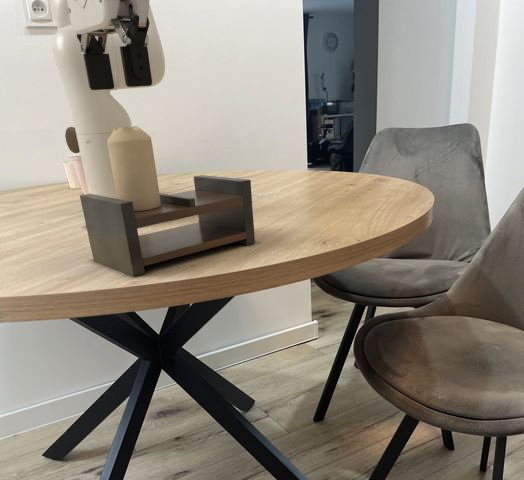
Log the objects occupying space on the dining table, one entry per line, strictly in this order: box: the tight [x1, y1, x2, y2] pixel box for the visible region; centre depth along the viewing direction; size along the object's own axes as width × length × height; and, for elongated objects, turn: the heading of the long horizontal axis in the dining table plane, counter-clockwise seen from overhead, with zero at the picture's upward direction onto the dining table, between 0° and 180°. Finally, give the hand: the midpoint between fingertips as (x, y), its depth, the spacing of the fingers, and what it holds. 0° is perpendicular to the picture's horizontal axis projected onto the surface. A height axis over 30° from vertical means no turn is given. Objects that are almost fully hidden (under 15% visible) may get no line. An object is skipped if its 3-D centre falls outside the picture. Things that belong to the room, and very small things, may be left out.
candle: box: [107, 125, 161, 211], centre depth 66 cm, size 6×6×10 cm
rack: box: [79, 174, 256, 278], centre depth 72 cm, size 12×20×9 cm, turn 131°
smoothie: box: [69, 152, 89, 195], centre depth 130 cm, size 6×6×14 cm
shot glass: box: [62, 160, 82, 189], centre depth 145 cm, size 7×7×7 cm
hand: (120, 87), depth 63 cm, fingers open, 9 cm apart
